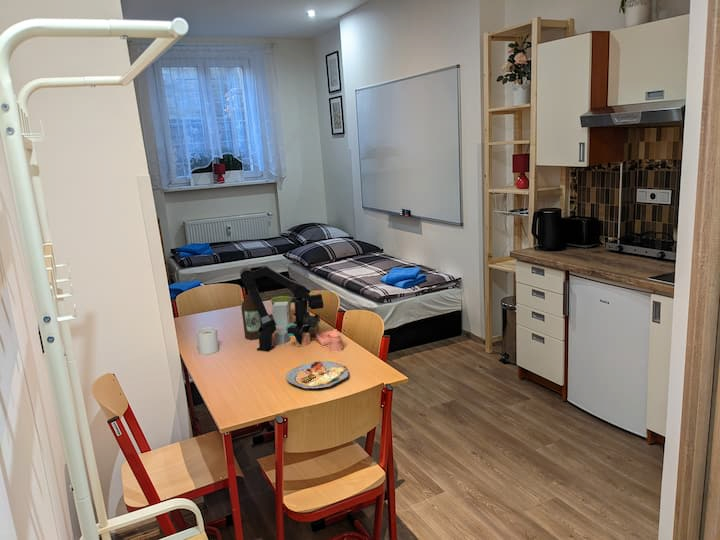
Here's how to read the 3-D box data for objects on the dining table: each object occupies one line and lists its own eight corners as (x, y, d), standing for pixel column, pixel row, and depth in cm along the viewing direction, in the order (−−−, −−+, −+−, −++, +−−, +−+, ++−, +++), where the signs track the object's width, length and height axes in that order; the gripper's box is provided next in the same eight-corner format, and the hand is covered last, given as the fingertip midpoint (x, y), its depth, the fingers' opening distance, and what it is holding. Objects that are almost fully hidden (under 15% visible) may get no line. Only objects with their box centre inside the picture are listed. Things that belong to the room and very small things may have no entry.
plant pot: (270, 317, 302) (268, 297, 300) (291, 314, 306) (290, 295, 303) (273, 323, 291) (272, 303, 289) (295, 320, 295) (294, 300, 292)
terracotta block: (305, 346, 256) (304, 336, 255) (295, 345, 258) (295, 335, 257) (310, 343, 261) (309, 332, 260) (300, 342, 263) (300, 332, 262)
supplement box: (288, 329, 282) (286, 305, 279) (273, 329, 282) (271, 305, 279) (290, 324, 289) (288, 301, 286) (276, 324, 289) (274, 301, 286)
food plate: (318, 361, 238) (318, 353, 237) (360, 374, 224) (359, 366, 223) (275, 382, 220) (274, 374, 219) (317, 398, 205) (317, 390, 204)
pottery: (316, 341, 263) (315, 322, 261) (335, 338, 266) (334, 319, 264) (327, 354, 247) (327, 333, 245) (347, 350, 250) (347, 330, 248)
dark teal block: (295, 336, 270) (294, 327, 269) (286, 336, 272) (285, 326, 271) (299, 333, 275) (299, 324, 274) (290, 332, 277) (290, 323, 275)
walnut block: (315, 338, 266) (315, 329, 265) (306, 338, 268) (305, 328, 267) (319, 335, 271) (319, 325, 270) (310, 334, 273) (310, 325, 272)
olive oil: (244, 334, 277) (240, 285, 271) (265, 332, 278) (262, 284, 272) (243, 341, 266) (238, 291, 261) (265, 339, 268) (261, 289, 262)
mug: (213, 355, 250) (211, 334, 247) (194, 354, 252) (191, 333, 249) (223, 346, 260) (221, 326, 258) (205, 345, 262) (203, 325, 260)
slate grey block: (284, 344, 260) (283, 334, 259) (275, 343, 262) (274, 333, 261) (289, 341, 265) (288, 331, 264) (280, 340, 267) (279, 330, 265)
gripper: (307, 317, 245) (309, 350, 248) (325, 306, 262) (326, 337, 265) (285, 315, 248) (287, 348, 252) (304, 304, 265) (305, 335, 269)
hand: (302, 342), depth 259 cm, fingers closed on terracotta block, 5 cm apart
